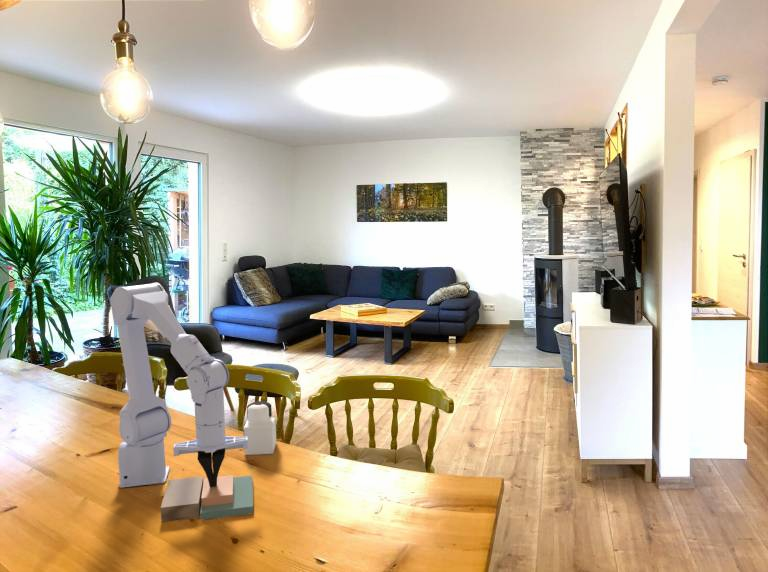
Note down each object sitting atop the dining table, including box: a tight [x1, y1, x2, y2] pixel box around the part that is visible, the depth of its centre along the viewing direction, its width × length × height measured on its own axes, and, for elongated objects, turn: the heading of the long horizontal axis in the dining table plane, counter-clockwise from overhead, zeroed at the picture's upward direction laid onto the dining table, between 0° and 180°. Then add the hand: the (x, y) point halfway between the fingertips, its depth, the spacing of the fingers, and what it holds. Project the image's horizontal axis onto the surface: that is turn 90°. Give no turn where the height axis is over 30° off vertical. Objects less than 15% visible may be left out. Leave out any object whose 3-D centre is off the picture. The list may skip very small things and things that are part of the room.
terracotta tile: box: [201, 474, 234, 507], centre depth 118 cm, size 6×9×2 cm, turn 14°
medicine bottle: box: [242, 400, 277, 456], centre depth 144 cm, size 7×7×12 cm
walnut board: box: [160, 476, 204, 523], centre depth 116 cm, size 7×12×3 cm, turn 13°
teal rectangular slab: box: [199, 475, 254, 521], centre depth 119 cm, size 10×14×2 cm
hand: (213, 484), depth 118 cm, fingers closed
